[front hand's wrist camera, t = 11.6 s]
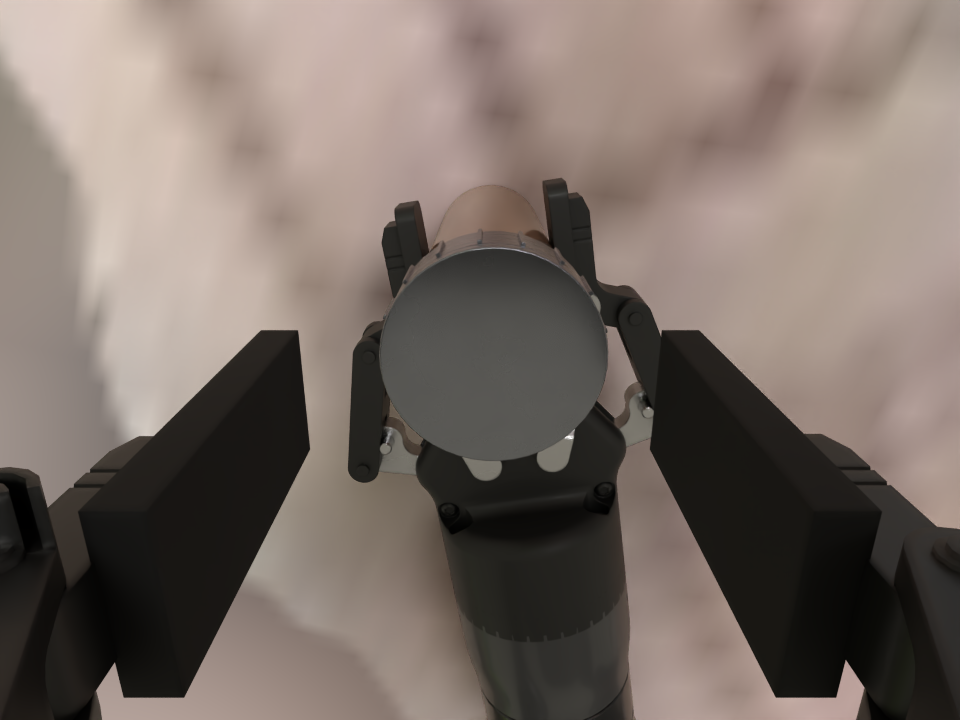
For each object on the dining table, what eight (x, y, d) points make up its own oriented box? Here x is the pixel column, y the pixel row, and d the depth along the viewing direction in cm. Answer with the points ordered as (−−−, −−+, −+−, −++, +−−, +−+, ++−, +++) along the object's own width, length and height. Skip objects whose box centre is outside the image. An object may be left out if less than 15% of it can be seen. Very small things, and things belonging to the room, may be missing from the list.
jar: (535, 287, 31) (578, 446, 17) (438, 281, 31) (394, 435, 16) (545, 188, 30) (602, 265, 15) (443, 181, 30) (398, 251, 15)
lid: (584, 431, 18) (596, 470, 16) (387, 419, 18) (375, 457, 16) (610, 235, 16) (627, 252, 14) (390, 221, 16) (376, 237, 14)
